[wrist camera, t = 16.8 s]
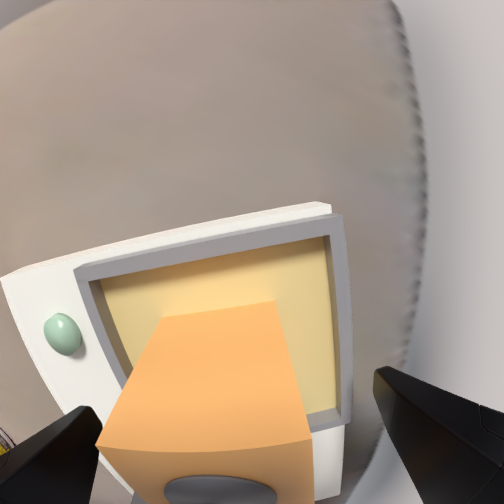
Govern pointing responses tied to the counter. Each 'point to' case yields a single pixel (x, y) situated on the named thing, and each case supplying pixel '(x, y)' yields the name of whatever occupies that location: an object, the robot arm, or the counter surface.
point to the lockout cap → (213, 414)
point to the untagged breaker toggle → (137, 499)
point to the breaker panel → (198, 310)
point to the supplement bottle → (5, 443)
